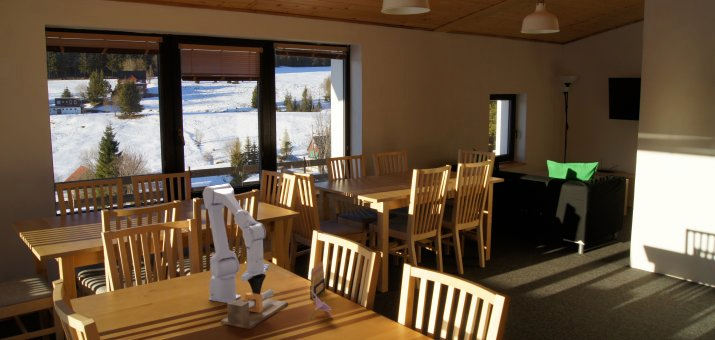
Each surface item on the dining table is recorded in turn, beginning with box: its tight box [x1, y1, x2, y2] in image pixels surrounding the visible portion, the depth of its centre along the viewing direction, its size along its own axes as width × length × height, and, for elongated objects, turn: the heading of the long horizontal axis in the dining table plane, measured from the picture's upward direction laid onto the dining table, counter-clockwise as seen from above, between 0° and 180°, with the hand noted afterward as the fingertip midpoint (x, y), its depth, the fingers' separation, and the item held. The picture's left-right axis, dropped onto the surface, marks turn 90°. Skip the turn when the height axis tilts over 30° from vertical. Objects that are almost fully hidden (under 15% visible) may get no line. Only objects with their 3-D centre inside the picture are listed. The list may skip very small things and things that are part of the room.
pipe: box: [248, 288, 275, 309], centre depth 213 cm, size 3×18×3 cm, turn 155°
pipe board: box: [220, 298, 289, 330], centre depth 213 cm, size 12×24×8 cm, turn 155°
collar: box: [244, 291, 263, 313], centre depth 212 cm, size 6×2×6 cm, turn 65°
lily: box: [310, 290, 333, 319], centre depth 209 cm, size 12×12×10 cm
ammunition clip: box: [309, 261, 326, 300], centre depth 231 cm, size 11×2×12 cm, turn 160°
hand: (256, 294), depth 213 cm, fingers closed
